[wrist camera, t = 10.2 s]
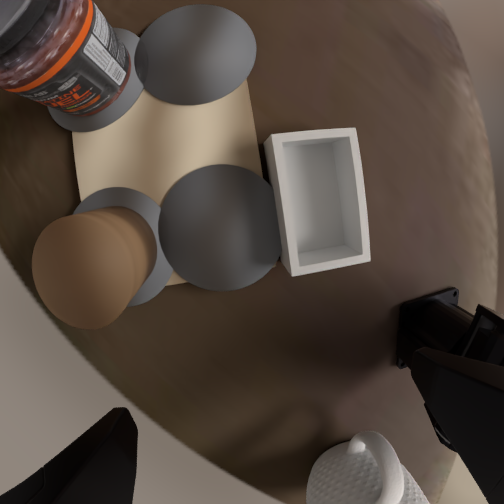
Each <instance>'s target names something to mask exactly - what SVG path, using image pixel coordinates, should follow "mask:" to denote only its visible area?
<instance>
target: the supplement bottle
mask: <svg viewBox="0 0 504 504" xmlns="http://www.w3.org/2000/svg"><path fill="white" fill-rule="evenodd" d="M130 73H131V58H130V55H129V52H128V50H127V49H126V47H125V45H124V44H123V42H122V41H121V40H120V38H119V37H118V35H117V34H116V33H115V31H114V30H113V28H112V27H111V26H110V24H109V23H108V21H107V20H106V18H105V17H104V16H103V14H102V13H101V12H100V10H99V9H98V7H97V6H96V5H95V3H94V2H93V0H0V88H2V89H5V90H7V91H10V92H12V93H14V94H18V95H20V96H23V97H26V98H28V99H31V100H34V101H36V102H39V103H41V104H44V105H46V106H49V107H51V108H53V109H55V110H58V111H61V112H63V113H65V114H69V115H73V116H89V115H92V114H95V113H98V112H100V111H102V110H103V109H105V108H106V107H108V106H109V105H110V104H112V103H113V102H114V101H115V100H116V99H117V98H118V97H119V95H120V94H121V93H122V91H123V90H124V88H125V86H126V84H127V82H128V80H129V77H130Z"/></svg>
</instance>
